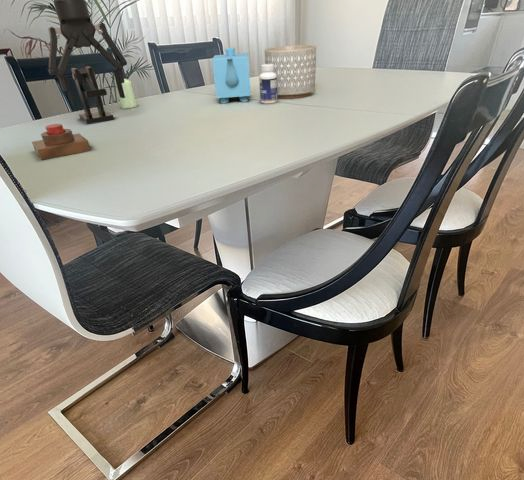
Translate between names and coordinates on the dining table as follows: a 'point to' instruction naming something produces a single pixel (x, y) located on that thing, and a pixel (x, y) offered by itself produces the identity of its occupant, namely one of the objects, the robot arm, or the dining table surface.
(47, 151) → the button block
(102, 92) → the lever
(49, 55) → the robot arm
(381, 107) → the dining table surface
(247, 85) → the blue teardrop bottle box
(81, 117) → the bracket
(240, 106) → the dining table surface
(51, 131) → the button
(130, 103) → the candle
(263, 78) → the pill bottle
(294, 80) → the planter
